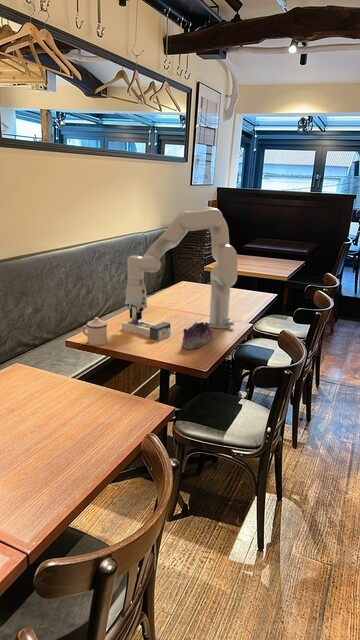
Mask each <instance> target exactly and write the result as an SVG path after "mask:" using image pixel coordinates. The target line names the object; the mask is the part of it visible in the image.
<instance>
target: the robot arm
mask: <svg viewBox="0 0 360 640" xmlns="http://www.w3.org/2000/svg"><path fill="white" fill-rule="evenodd" d="M207 229H209V231H210V237H211V255H212V258H213V259H214V260H215V261H216V262H217V264H215V265H214V266H213V267H211V270H210V304H209V320H206V322H205V323H209V324H210V327H209V328H213V329H227V328H230V327H232V326H233V327H234V325H235V321H234V320H232V319H231V317H230V316H229V312H230V311H229V310H230V295H231V294H230V293H231V287H233V286H234V285H236V282H237V280H238V254H237V251H236V249H235V248H234V247H233V245H230V235H229V233H230V231H229V227H228V223H227V221H226V219H225V217H224V216H223V213H222V211H221V210H220V209H218V208H215V207H212V206H205V207H202V208H201V209H200V210H198V211H190V210H182V211H180V212H179V213H178V214H177V215H176V217H175V218H174V219H173V221H172V222H170V225H169V226H168V227H167V228H166V229H165V231H164V232H163V233H162V234H161V235H160V236H159V237H158V238H157V239H156V240H155V241H154V242H153V243H152V244H151V245H150V247H148V249H147V250H146V251H145V253H144V255H143V256H141V255H130V256H128V257H127V284H126V287H125V301H124V304H125V305H126V307H127V308H128V311H129V319H132V306H137V313H136V320H140V321H141V320H142V318H143V315H142V313H143V312H144V310H145V309H147V308H148V305H147V302H148V301H147V290H146V285H145V282H146V281H144V280H145V279H144V277H145V276H144V275H145V274H144V273H145V272H147V273H156V272H158V271H160V268H161V266H162V263H161V261H160V259H161V258H162V256H163V255H165V253H166V252H167V251H169V250H170V249H173V248H175V247H177V246H178V245H179V244H180V243H181V241H182V240H183V239H184V237H185V236H186V235H187V234H188V232H195V231H201V230H207Z"/></svg>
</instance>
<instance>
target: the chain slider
mask: <svg viewBox="0 0 360 640" xmlns="http://www.w3.org/2000/svg"><path fill="white" fill-rule="evenodd" d="M136 313H137V306H132V318H131V319H132V321H131V320H130V321H127V323H130V324H134V325H137V326H141V327H144V328H148V325H145V324H144V322H145V321H144V322H141V321H142V320H140V321H139V320H136Z"/></svg>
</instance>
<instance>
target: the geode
mask: <svg viewBox="0 0 360 640" xmlns="http://www.w3.org/2000/svg"><path fill="white" fill-rule="evenodd" d="M213 332H214V331H213V330H212V329H211V327H210V324H209V323H206V322H195V323H193V324H192V325H191V326H190V327H188V328H184V329H183V336H182V342H181V348H182V349H183V350H185V351H193V350H198V349H200V348H202V347H203V346H205V345H206V344H208V343H209V342H210V341H212V340H213V338H214V337H213V336H214V333H213Z"/></svg>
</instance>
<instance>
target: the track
mask: <svg viewBox="0 0 360 640" xmlns="http://www.w3.org/2000/svg"><path fill="white" fill-rule="evenodd" d="M130 321H132V318H130ZM139 321H141V322H144V324H145V325H148V328H144V327H141V326H137V325H134V324H130V323H128V322H125V321H122V322H121V329H122V330H124V331H126V332H131V333H133V334H136V335H137V334H138V335H141V336H145V337H148V338H149V339H151V340H154V341H158V340H159V341H161V340H164V339H165V338H168V337H170V336H171V323H170V322H164V321H163V322H160V323H158V324H155V323H151V322H147V321H143V320H141V319H140V320H139Z"/></svg>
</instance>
